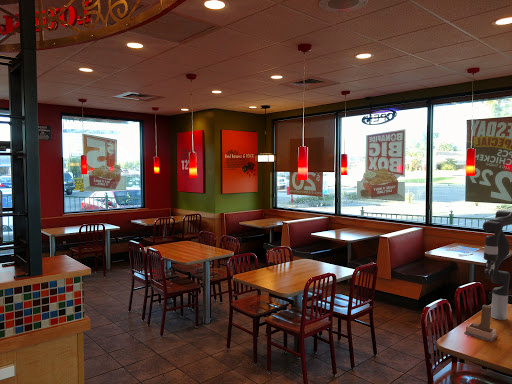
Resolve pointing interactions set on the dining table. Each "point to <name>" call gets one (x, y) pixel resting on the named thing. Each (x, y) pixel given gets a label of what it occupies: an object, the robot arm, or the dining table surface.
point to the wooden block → (484, 319)
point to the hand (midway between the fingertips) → (489, 277)
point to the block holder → (480, 333)
